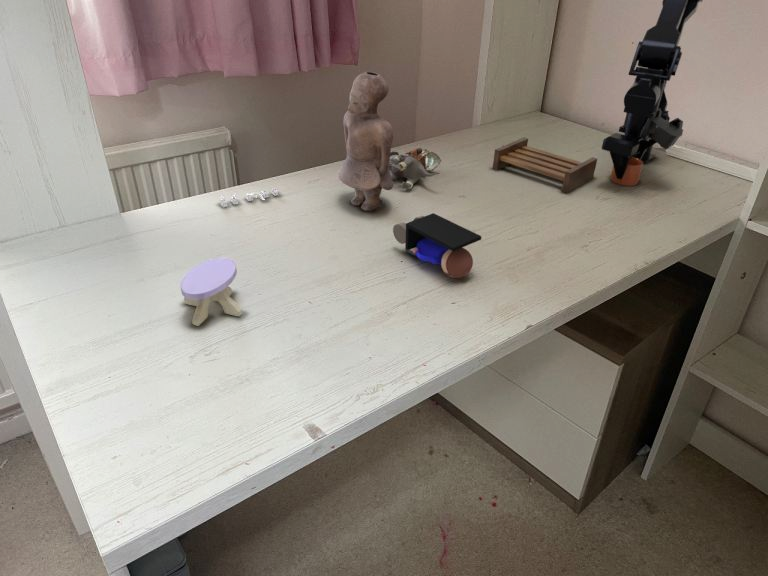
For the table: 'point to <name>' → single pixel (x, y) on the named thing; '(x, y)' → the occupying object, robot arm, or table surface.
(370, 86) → the clay figurine
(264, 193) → the figurines set
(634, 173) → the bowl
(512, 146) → the rack
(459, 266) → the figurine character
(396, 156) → the figurine
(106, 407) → the table surface
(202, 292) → the toy table
